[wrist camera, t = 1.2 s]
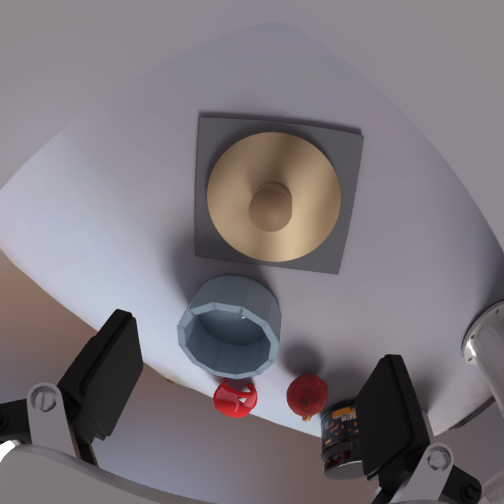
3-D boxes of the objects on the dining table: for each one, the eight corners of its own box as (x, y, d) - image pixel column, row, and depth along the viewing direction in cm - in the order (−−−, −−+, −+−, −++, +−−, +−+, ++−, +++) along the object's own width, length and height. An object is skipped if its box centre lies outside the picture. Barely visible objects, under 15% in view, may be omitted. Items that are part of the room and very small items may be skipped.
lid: (347, 142, 24) (359, 144, 20) (326, 264, 30) (332, 288, 25) (213, 127, 25) (197, 127, 21) (208, 249, 31) (193, 270, 26)
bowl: (286, 281, 32) (285, 312, 26) (274, 350, 36) (270, 384, 31) (192, 268, 33) (174, 295, 27) (195, 337, 37) (181, 368, 32)
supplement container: (384, 393, 38) (396, 453, 27) (371, 424, 42) (378, 476, 32) (322, 399, 40) (324, 462, 29) (318, 429, 44) (317, 483, 33)
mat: (362, 135, 24) (363, 135, 24) (337, 272, 30) (338, 274, 30) (201, 117, 26) (199, 117, 25) (196, 253, 32) (195, 255, 31)
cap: (210, 380, 36) (200, 414, 36) (248, 397, 34) (235, 431, 33) (233, 371, 44) (223, 401, 43) (266, 384, 41) (255, 415, 41)
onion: (286, 363, 37) (283, 408, 30) (327, 361, 36) (331, 406, 29) (288, 388, 39) (285, 430, 32) (325, 386, 38) (328, 429, 31)
